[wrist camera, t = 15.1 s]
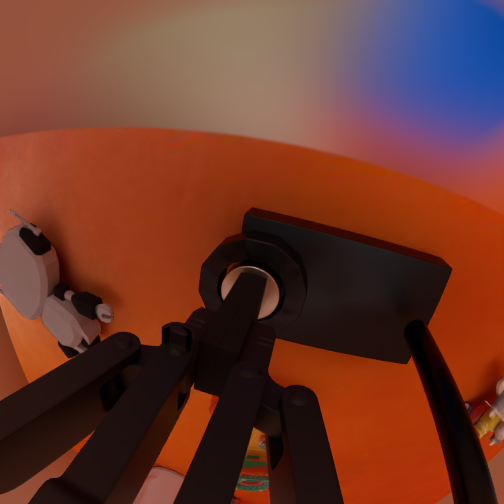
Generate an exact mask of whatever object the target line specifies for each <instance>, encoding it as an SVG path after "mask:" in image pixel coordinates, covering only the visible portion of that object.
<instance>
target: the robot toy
mask: <svg viewBox="0 0 504 504" xmlns="http://www.w3.org/2000/svg"><path fill="white" fill-rule="evenodd" d="M10 214H11V215H13V216H15V217H16V218H18V219H19V220H20V221H21V222H23V223H22V224H20V225H18V226H15V227H13V228H11V229H9V230H8V231H7V232H6V233H5V235H4V237H3V240H2V243H1V246H0V285H1V288H2V289H0V293H2V294H3V295H4V296H5V297H6V298H7V299H8V300H9V301H10V302H11V304H12V305H13V306H14V307H15V308H16V310H17V311H18V312H19V313H20V314H21V315H22V316H23V317H26V318H28V319H37V318H38V317H40V316H41V315H42V322H43V323H44V325H45V326H46V327H47V329H48V330H49V331H50V332H51V333H52V334H53V336H54V337H55V338H56V339H57V340H58V345H59V347H60V348H61V349H62V351H63V352H64V354H65V355H66V356H67V358H72V357H73V358H74V357H75V356H77V355H79V354H81V353H79V352H84V351H86V350H87V349H89V348H91V347H92V346H94V345H96V344H97V343H99V342H100V336H99V334H100V332H101V325H100V324H99V322H98V321H97V320H96V318H98V317H99V318H100V319H101V321H102V322H106V323H110V322H112V321H113V319H114V316H112V315H113V314H114V311H113V309H112V307H110V306H109V305H108V304H103V302H102V298H100V297H98V296H96V295H93V294H91V293H89V292H79V293H74V292H73V291H71V290H70V288H69V286H68V285H66V284H64V283H62V282H60V283H59V276H60V272H59V262H58V258H57V255H56V251H55V248H54V247H53V246H52V245H51V242H50V241H49V240H48V239H47V238H46V237H45V236H44V235H43V233H42V232H41V231H42V230H40V229H39V228H38V227H36V225H34V224H32V223H28V222H27V221H26V220H25V219H23V218H22V217H21V216H19V215H18V214H17V212H16V211H14V210H10Z"/></svg>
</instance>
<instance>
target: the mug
mask: <svg viewBox="0 0 504 504" xmlns="http://www.w3.org/2000/svg"><path fill="white" fill-rule="evenodd" d="M184 478H185V476H183V475H181V474H179V473H177V472H175V471H172V470H170V469H166V468H162V467H153V468H152V469H151V471H150V473H149V475H148V476H147V478H146V480H145V482H144V484H143V486H142V488H141V489H140V491H139V493H138V495H137V497H136V499H135V500H134V502H133V504H173V502H174V500H175V498H176V496H177V494H178V492H179V489H180V487H181V485H182V483H183V480H184Z"/></svg>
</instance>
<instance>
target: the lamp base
mask: <svg viewBox="0 0 504 504" xmlns="http://www.w3.org/2000/svg"><path fill="white" fill-rule="evenodd" d="M246 259H251V260H255V261H259V262H263V263H266V264H267V265H269V266H270V267H271V268H272V269H273V270H274V271H275V272H276V273H277V274H279V275H280V276H281V280H282V290H281V294H280V298H279V302H278V305H277V307H276V308H275V310H274V311H273V312H272V313H271V314H269V315H268V316H266V317H263V318H260V319H258V320H257V322H258V323H262V324H265V325H269V326H273V327H274V329H275V331H276V338H278V339H282V340H286V341H290V342H295V343H299V344H303V345H307V346H312V347H316V348H321V349H325V350H330V351H335V352H340V353H345V354H350V355H355V356H360V357H365V358H371V359H376V360H382V361H388V362H394V363H400V364H407V363H408V361H409V359H410V358H411V356H412V355H411V353H410V350H409V348H408V345H407V343H406V340H405V338H404V335H403V332H404V329H405V327H406V325H407V324H408V323H409V322H411V321H413V320H422V321H424V322H425V324H426V325H427V326H428V324H429V322H430V320H431V318H432V316H433V314H434V311H435V309H436V307H437V305H438V303H439V301H440V298H441V296H442V294H443V291H444V289H445V287H446V284H447V282H448V279H449V277H450V274H451V272H452V268H451V267H450V266H449V265H448V264H447V263H446V262H445V261H444V260H443V259H442V258H440V257H437V256H434V255H431V254H427V253H424V252H421V251H417V250H414V249H411V248H407V247H404V246H400V245H397V244H394V243H390V242H387V241H383V240H379V239H376V238H372V237H369V236H365V235H361V234H358V233H354V232H350V231H346V230H343V229H339V228H335V227H331V226H327V225H323V224H320V223H316V222H312V221H308V220H304V219H300V218H295V217H291V216H287V215H283V214H279V213H275V212H270V211H266V210H262V209H257V208H253V207H252V208H251V209H250V210H249V211H247V212H246V213H245V215H244V220H243V226H242V231H241V233H240V234H236V235H233V236H230V237H227V238H226V239H225V240H224V241H223V242H222V243H221V244H220V245H219V246H218V247H217V248H216V249H215V250H214V251H213V252H212V254H211V255H210V256H209V257H208V258H207V259H206V260H205V262H204V263H203V264H202V266H201V273H200V281H199V293H200V295H201V298H202V300H203V302H204V305H205V307H206V309H210V310H213V311H216V312H217V310H218V309H219V307H220V305H221V304H222V302H223V301H224V300H223V298H222V293H221V286H222V282H223V280H224V278H225V277H226V272H227V267H228V266H229V265H230V264H231V263H234V262H238V261H242V260H246Z"/></svg>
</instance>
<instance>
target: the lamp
mask: <svg viewBox="0 0 504 504" xmlns="http://www.w3.org/2000/svg"><path fill="white" fill-rule="evenodd" d="M403 335H404V338H405V340H406V343H407V345H408V348H409V350H410V353H411V355H412V358H413V361H414V363H415V366H416V369H417V371H418V374H419V377H420V380H421V382H422V385H423V388H424V391H425V394H426V397H427V400H428V403H429V406H430V409H431V412H432V416H433V419H434V422H435V426H436V429H437V432H438V436H439V440H440V443H441V447H442V451H443V455H444V459H445V463H446V467H447V471H448V476H449V480H450V485H451V490H452V496H453V501H454V504H498V501H497V497H496V493H495V489H494V485H493V482H492V478H491V474H490V471H489V468H488V465H487V461H486V458H485V455H484V452H483V449H482V446H481V444H480V441H479V438H478V435H477V433H476V430H475V427H474V425H473V422H472V420H471V417H470V415H469V412H468V410H467V407H466V405H465V403H464V400H463V398H462V396H461V394H460V391H459V389H458V387H457V385H456V382H455V380H454V378H453V376H452V374H451V372H450V370H449V368H448V366H447V364H446V362H445V360H444V358H443V356H442V354H441V352H440V350H439V348H438V346H437V344H436V342H435V340H434V338H433V336H432V334H431V333H430V331H429V329H428V327H427V325H426V324H425V322H424V321H422V320H413V321H411V322H409V323H408V324H407V325H406V327H405V329H404V332H403Z"/></svg>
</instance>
